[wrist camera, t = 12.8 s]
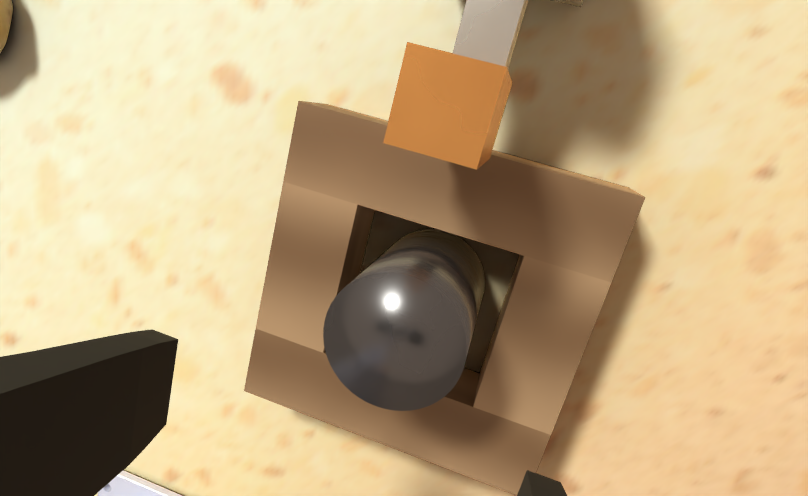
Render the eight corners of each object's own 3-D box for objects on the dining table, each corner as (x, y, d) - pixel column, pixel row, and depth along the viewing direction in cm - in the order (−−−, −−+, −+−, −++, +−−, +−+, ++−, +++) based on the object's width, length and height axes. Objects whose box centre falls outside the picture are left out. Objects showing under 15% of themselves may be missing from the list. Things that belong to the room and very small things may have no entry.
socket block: (525, 455, 20) (525, 499, 18) (274, 362, 22) (244, 390, 20) (628, 187, 17) (645, 197, 15) (327, 104, 19) (298, 100, 16)
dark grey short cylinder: (458, 346, 20) (430, 435, 14) (367, 302, 20) (304, 370, 15) (502, 257, 19) (492, 314, 13) (404, 211, 19) (352, 247, 13)
